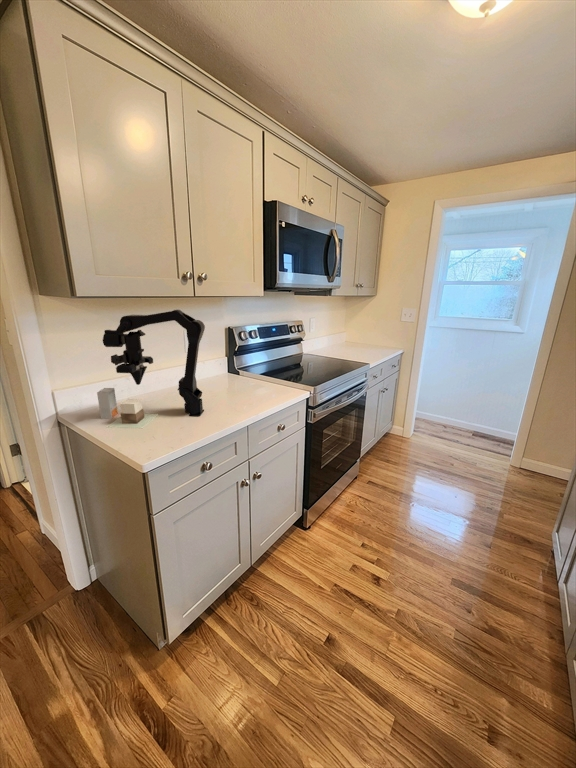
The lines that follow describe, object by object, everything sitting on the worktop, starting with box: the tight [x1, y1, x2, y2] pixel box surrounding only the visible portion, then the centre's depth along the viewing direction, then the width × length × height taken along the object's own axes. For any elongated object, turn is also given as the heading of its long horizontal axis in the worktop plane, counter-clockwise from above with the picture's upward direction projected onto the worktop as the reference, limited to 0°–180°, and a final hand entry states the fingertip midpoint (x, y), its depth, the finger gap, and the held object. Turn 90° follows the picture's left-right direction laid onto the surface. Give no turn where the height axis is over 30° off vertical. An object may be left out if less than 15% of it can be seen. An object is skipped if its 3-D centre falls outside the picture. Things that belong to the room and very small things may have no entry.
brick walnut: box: [120, 408, 145, 424], centre depth 125 cm, size 6×6×4 cm
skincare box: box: [96, 387, 119, 420], centre depth 128 cm, size 6×4×12 cm
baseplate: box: [106, 413, 159, 429], centre depth 125 cm, size 14×14×1 cm
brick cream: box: [119, 398, 143, 414], centre depth 124 cm, size 6×6×4 cm
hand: (138, 384), depth 130 cm, fingers closed
